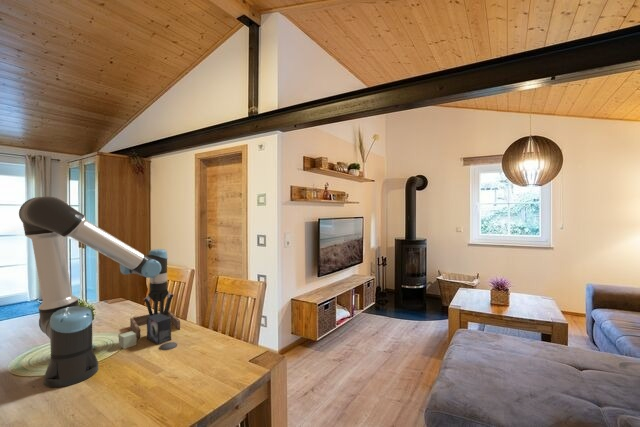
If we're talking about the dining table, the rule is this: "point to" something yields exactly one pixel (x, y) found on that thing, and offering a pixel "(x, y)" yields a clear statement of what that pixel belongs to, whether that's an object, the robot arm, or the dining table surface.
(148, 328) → the small box
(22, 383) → the dining table surface
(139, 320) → the brown u-shaped wall
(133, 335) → the sage cube
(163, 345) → the coaster
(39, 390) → the dining table surface
